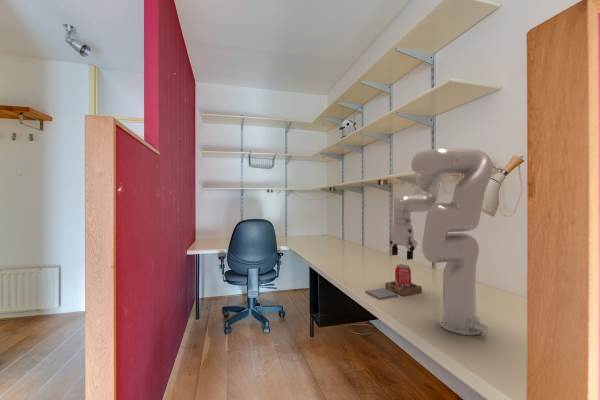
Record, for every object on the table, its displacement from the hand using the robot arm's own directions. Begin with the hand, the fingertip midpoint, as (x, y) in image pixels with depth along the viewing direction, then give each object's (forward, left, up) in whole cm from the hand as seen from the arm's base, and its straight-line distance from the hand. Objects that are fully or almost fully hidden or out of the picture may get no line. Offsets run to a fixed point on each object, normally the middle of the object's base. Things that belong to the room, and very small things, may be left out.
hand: (402, 257), depth 128 cm
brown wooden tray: (-1, 0, -16) cm, 16 cm away
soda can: (-1, 0, -16) cm, 16 cm away
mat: (-1, +13, -16) cm, 21 cm away
